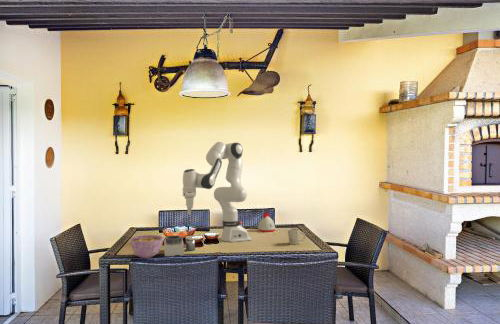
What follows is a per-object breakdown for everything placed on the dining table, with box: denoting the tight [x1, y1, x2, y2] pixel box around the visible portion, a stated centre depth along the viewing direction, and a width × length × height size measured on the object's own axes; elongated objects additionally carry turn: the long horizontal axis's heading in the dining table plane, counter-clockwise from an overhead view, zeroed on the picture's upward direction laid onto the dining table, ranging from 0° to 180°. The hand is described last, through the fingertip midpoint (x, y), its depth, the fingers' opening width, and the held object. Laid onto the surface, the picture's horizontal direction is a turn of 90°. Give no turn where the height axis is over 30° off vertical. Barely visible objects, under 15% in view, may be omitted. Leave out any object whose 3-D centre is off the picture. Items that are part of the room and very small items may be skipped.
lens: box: [185, 235, 196, 252], centre depth 282 cm, size 6×6×9 cm
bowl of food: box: [130, 234, 164, 259], centre depth 266 cm, size 20×20×12 cm
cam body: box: [163, 235, 185, 257], centre depth 276 cm, size 12×18×10 cm
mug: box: [287, 227, 307, 245], centre depth 299 cm, size 8×13×10 cm, turn 91°
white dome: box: [257, 211, 276, 233], centre depth 345 cm, size 14×14×15 cm
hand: (189, 213), depth 283 cm, fingers open, 8 cm apart
